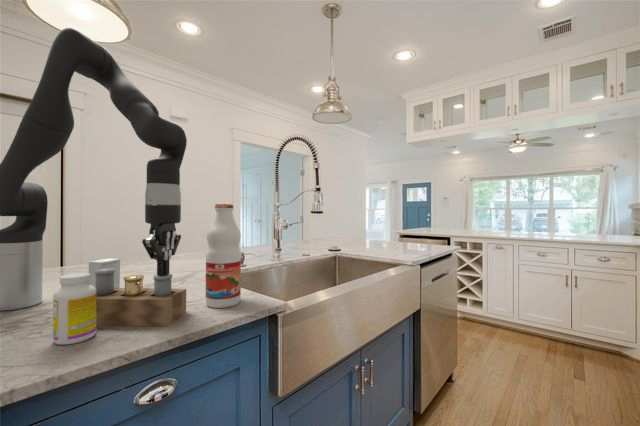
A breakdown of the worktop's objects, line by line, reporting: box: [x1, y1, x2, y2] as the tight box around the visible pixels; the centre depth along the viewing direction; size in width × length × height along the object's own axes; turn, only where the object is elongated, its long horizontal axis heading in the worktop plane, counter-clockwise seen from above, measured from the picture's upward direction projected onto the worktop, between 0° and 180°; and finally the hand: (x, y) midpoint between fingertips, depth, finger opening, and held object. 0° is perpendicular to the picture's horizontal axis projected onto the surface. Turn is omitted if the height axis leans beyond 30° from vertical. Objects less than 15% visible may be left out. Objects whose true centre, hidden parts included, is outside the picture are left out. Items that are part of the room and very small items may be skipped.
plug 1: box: [95, 268, 115, 296], centre depth 68 cm, size 4×4×7 cm
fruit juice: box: [205, 203, 242, 309], centre depth 80 cm, size 9×9×28 cm
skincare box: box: [88, 257, 121, 288], centre depth 79 cm, size 6×4×12 cm
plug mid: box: [123, 274, 145, 296], centre depth 68 cm, size 4×4×7 cm
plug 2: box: [152, 273, 173, 297], centre depth 68 cm, size 4×4×7 cm
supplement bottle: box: [52, 272, 97, 346], centre depth 57 cm, size 7×7×13 cm
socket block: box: [96, 287, 187, 327], centre depth 68 cm, size 21×9×6 cm, turn 90°
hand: (163, 275), depth 68 cm, fingers closed
